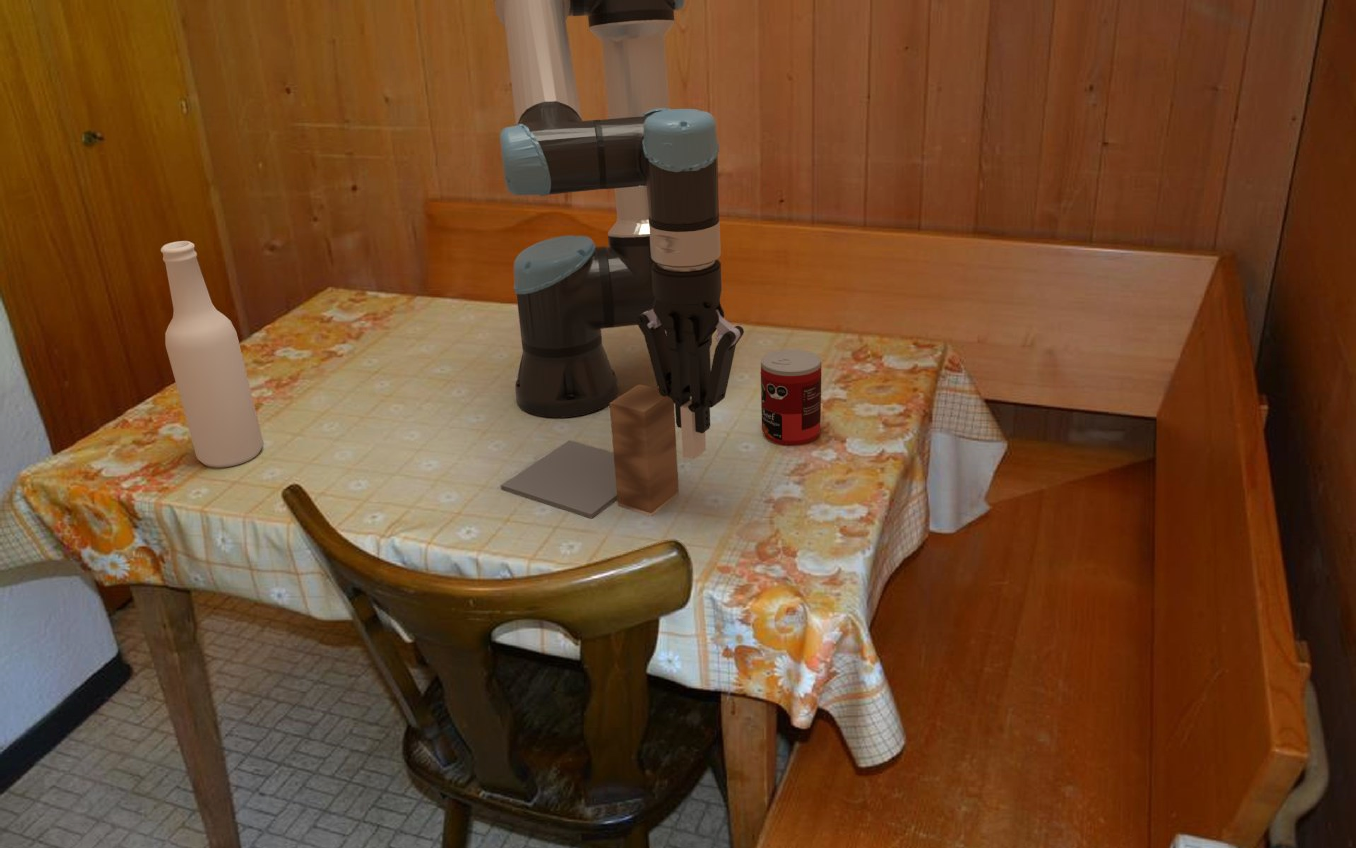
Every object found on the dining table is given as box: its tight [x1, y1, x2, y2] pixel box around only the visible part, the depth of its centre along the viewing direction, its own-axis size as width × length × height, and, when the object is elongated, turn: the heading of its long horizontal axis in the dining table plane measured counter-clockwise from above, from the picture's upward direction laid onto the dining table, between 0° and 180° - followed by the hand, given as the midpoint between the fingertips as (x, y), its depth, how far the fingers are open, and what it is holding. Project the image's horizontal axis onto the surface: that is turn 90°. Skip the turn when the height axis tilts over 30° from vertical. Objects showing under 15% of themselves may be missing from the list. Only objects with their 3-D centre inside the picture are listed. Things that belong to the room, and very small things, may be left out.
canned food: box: [760, 348, 822, 447], centre depth 147 cm, size 8×8×11 cm
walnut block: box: [609, 383, 680, 517], centre depth 133 cm, size 5×6×14 cm
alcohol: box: [160, 240, 264, 469], centre depth 145 cm, size 9×9×30 cm
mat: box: [500, 440, 617, 519], centre depth 141 cm, size 14×14×1 cm
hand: (694, 453), depth 128 cm, fingers closed
